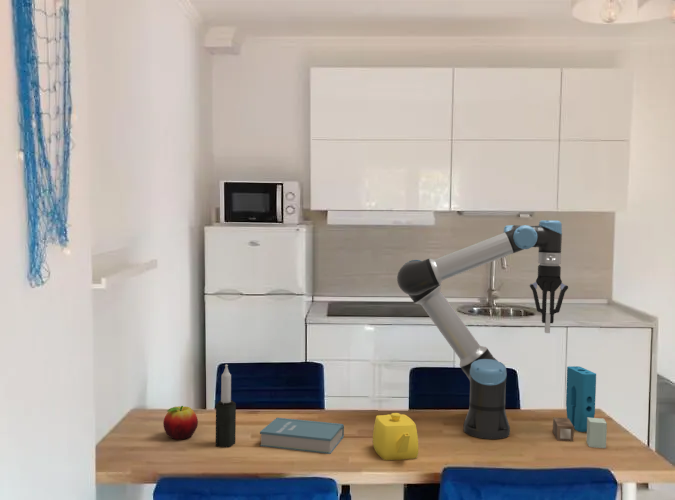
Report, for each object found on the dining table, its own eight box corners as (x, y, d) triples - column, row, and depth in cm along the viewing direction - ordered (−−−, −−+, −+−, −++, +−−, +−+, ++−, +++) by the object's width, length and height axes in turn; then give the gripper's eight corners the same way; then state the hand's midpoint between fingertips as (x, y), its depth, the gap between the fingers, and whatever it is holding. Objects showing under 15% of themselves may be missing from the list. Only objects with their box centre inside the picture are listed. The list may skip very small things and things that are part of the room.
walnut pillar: (557, 425, 211) (553, 417, 220) (557, 440, 211) (552, 432, 220) (573, 426, 210) (568, 418, 219) (573, 442, 211) (568, 433, 219)
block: (595, 433, 219) (597, 374, 219) (581, 433, 219) (583, 374, 218) (577, 422, 231) (579, 366, 230) (564, 422, 231) (566, 366, 230)
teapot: (426, 464, 188) (427, 424, 188) (385, 466, 186) (386, 426, 185) (405, 441, 208) (406, 404, 207) (367, 443, 205) (368, 406, 205)
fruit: (204, 436, 209) (204, 405, 208) (175, 444, 201) (175, 412, 200) (185, 428, 216) (185, 399, 216) (156, 436, 208) (156, 405, 208)
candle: (236, 442, 203) (237, 363, 202) (228, 448, 199) (229, 366, 198) (222, 440, 205) (223, 362, 204) (214, 445, 200) (214, 365, 199)
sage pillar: (589, 447, 206) (590, 421, 205) (586, 441, 210) (587, 417, 210) (605, 448, 205) (606, 423, 204) (602, 443, 209) (603, 418, 209)
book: (259, 447, 201) (259, 431, 201) (277, 431, 217) (277, 416, 216) (330, 455, 195) (330, 438, 195) (343, 438, 211) (343, 423, 211)
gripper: (530, 264, 223) (528, 333, 224) (570, 266, 221) (568, 335, 222) (528, 263, 231) (526, 329, 232) (567, 264, 228) (565, 331, 229)
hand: (547, 332), depth 227 cm, fingers closed
